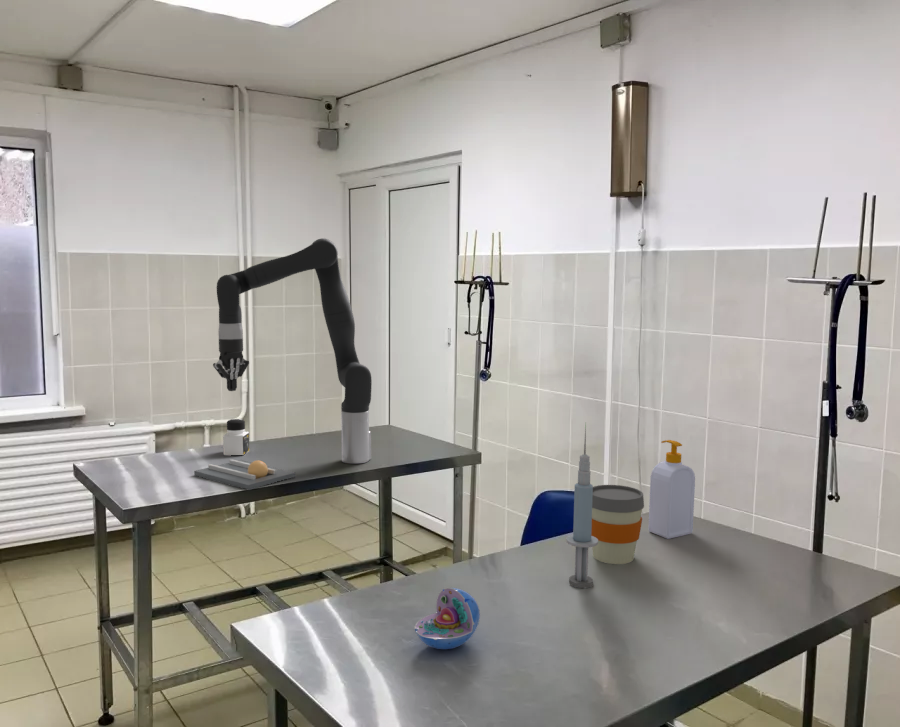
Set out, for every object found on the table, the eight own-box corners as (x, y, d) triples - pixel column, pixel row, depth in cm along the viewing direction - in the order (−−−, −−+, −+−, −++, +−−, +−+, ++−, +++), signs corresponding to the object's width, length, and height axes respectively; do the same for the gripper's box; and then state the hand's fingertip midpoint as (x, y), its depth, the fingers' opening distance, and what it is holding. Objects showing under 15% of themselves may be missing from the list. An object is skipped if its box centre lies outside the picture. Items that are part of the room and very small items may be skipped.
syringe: (597, 589, 154) (601, 419, 150) (565, 587, 155) (568, 418, 151) (596, 578, 159) (600, 415, 156) (565, 577, 160) (568, 414, 157)
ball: (270, 457, 234) (273, 477, 233) (258, 462, 237) (261, 481, 236) (254, 459, 229) (257, 478, 228) (242, 463, 233) (245, 482, 231)
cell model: (401, 645, 130) (401, 591, 129) (455, 625, 137) (455, 574, 136) (438, 668, 122) (439, 611, 121) (493, 646, 130) (494, 592, 129)
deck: (241, 464, 252) (241, 456, 251) (295, 477, 236) (295, 468, 236) (194, 475, 237) (194, 467, 237) (248, 490, 222) (248, 480, 222)
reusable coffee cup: (575, 559, 170) (577, 493, 168) (598, 543, 180) (600, 481, 179) (629, 571, 163) (632, 503, 161) (650, 554, 173) (652, 490, 172)
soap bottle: (671, 525, 194) (675, 436, 191) (692, 533, 188) (697, 442, 185) (645, 531, 189) (649, 440, 187) (666, 539, 183) (670, 446, 181)
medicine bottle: (243, 455, 263) (242, 421, 262) (223, 455, 264) (222, 421, 262) (249, 451, 270) (248, 417, 269) (229, 450, 271) (228, 417, 269)
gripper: (220, 339, 237) (222, 394, 239) (254, 336, 247) (255, 389, 249) (206, 337, 241) (207, 392, 243) (240, 335, 252) (241, 387, 254)
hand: (232, 390), depth 246 cm, fingers closed
